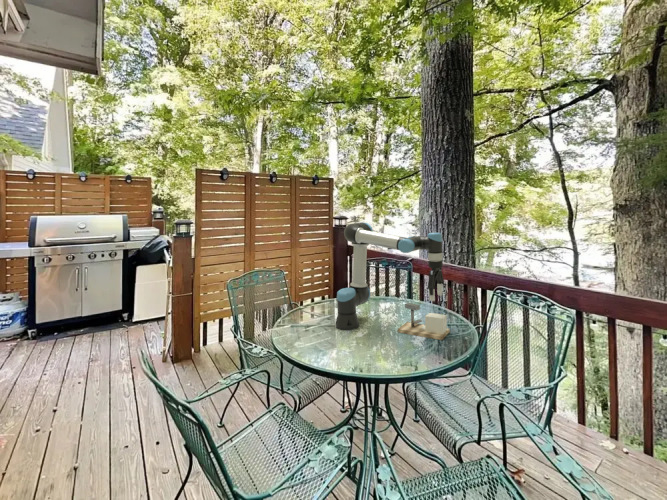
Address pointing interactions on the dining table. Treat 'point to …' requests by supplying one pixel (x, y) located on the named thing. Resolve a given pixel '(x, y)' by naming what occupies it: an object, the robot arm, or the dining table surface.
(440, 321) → the cream rectangular block
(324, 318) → the dining table surface
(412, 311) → the t key
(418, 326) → the base plate
